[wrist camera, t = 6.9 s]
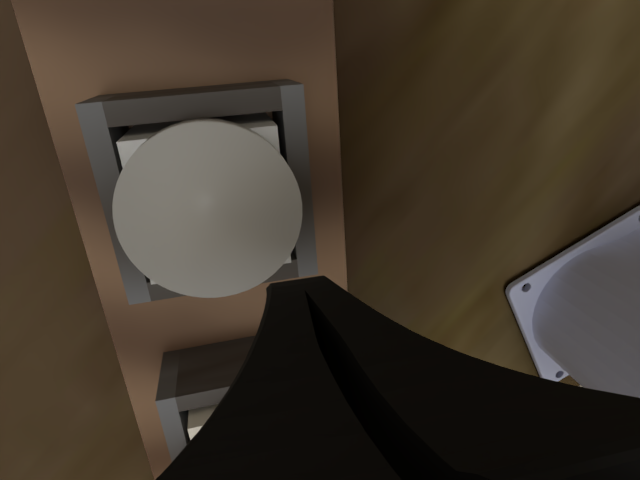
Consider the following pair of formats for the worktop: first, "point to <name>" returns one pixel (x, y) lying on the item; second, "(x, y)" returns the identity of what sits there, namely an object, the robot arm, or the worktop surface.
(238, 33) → the knob backing plate
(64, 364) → the worktop surface
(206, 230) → the knob
